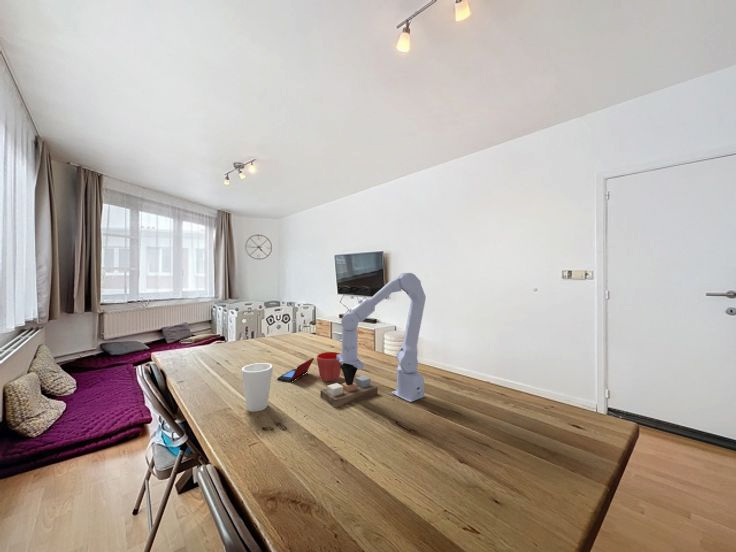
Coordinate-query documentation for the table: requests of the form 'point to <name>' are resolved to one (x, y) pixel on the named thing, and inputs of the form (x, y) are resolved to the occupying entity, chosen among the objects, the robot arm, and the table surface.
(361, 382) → the slate key
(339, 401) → the key frame
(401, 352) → the robot arm
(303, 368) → the handheld game console
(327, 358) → the flower pot
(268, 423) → the table surface
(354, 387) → the terracotta key
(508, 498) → the table surface
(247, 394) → the foam cup
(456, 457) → the table surface
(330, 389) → the ivory key
